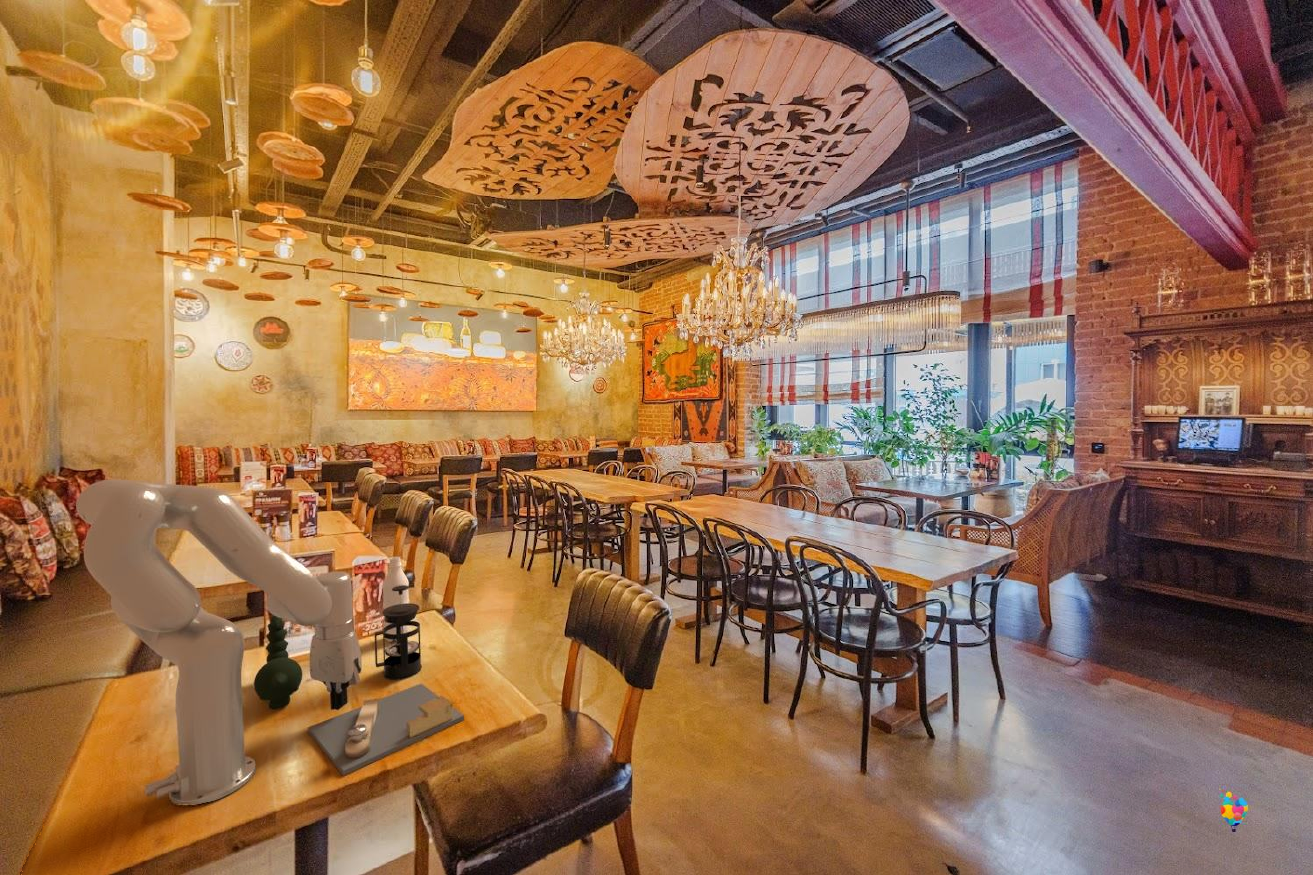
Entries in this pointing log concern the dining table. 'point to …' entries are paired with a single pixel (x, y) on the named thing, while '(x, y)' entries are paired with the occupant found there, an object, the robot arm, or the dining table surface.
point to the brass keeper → (430, 716)
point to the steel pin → (357, 732)
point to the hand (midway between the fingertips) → (339, 706)
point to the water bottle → (393, 597)
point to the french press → (400, 640)
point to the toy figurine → (277, 669)
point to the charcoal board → (378, 728)
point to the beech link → (368, 719)
